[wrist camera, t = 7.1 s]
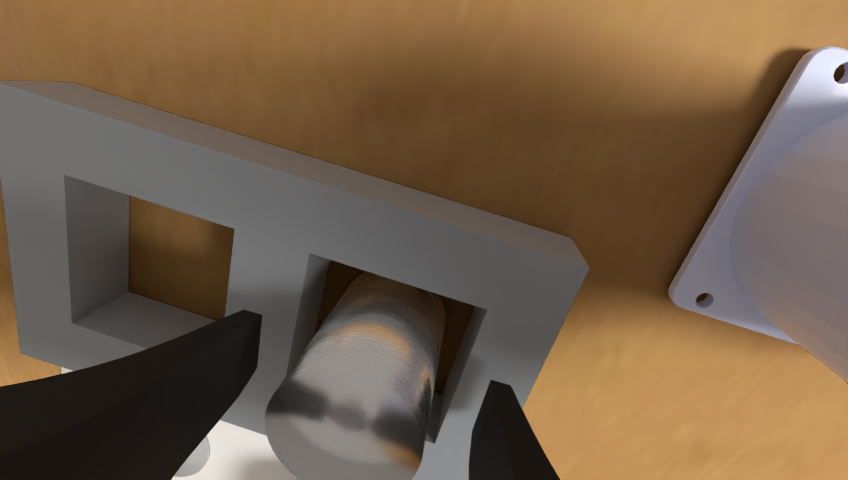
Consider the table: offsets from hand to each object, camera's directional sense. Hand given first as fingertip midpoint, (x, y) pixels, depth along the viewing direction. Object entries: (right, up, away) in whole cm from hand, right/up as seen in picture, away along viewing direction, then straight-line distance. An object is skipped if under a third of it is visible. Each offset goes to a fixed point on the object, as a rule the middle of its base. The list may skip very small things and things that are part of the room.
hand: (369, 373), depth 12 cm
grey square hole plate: (-3, +2, +3) cm, 5 cm away
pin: (0, +1, +3) cm, 3 cm away
